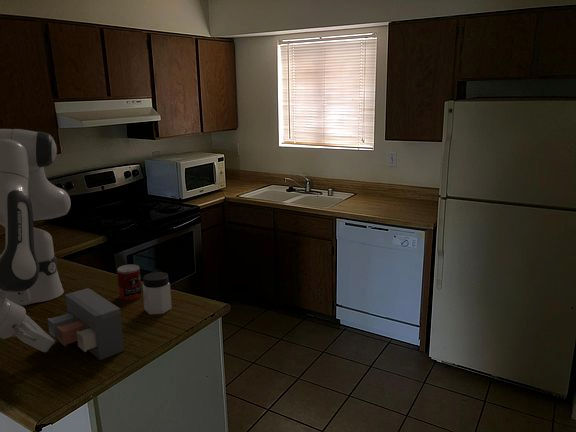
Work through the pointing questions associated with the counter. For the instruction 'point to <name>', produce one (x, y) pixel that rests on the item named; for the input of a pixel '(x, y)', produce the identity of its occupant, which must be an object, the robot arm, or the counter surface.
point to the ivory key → (86, 339)
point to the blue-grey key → (59, 322)
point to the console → (98, 320)
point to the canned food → (129, 282)
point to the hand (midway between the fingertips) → (52, 341)
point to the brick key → (69, 332)
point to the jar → (156, 293)
